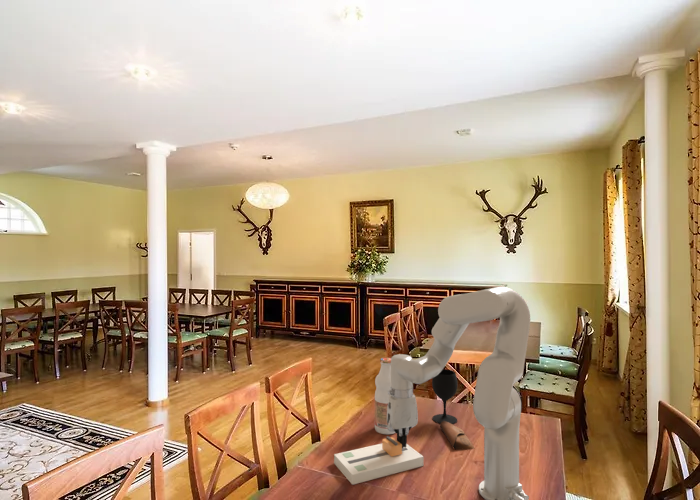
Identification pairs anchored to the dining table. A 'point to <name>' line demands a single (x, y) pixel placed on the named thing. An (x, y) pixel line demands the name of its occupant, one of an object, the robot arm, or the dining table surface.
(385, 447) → the fader knob
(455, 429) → the sunglasses case
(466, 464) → the dining table surface
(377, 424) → the fruit juice
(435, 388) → the wine glass
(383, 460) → the fader console
